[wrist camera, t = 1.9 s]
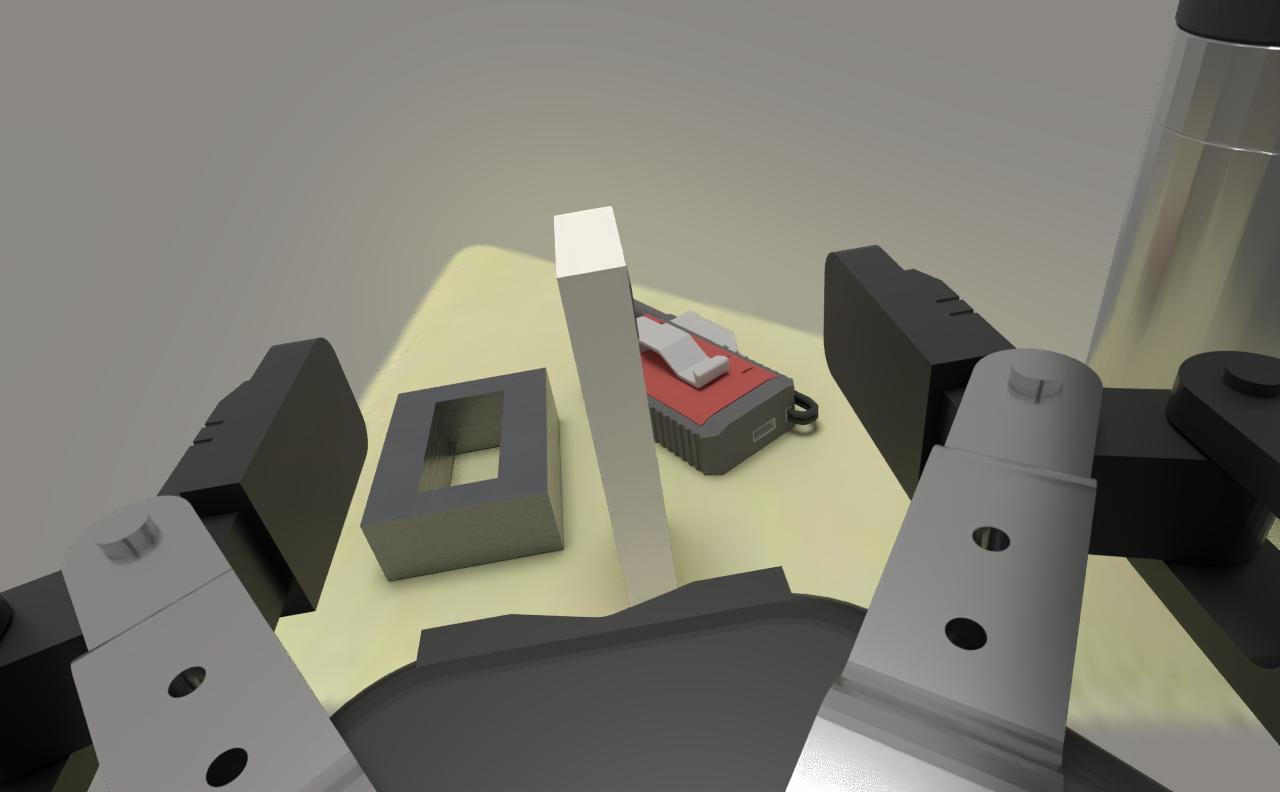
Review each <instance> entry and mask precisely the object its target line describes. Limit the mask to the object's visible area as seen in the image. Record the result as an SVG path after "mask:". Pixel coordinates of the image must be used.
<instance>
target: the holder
mask: <svg viewBox="0 0 1280 792" xmlns="http://www.w3.org/2000/svg"><path fill="white" fill-rule="evenodd" d="M497 446H500V456H499V470H498V478H496V479H490V480H485V481H479V482H474V483H468V484H463V485H457V486H452V487H450V482H451V476H452V469H453V463H454V456H455V454H458V453H464V452H469V451H475V450H480V449H486V448H491V447H497ZM360 527H361V529H362V531H363V533H364V535H365V537H366V539H367V541H368V543H369V545H370V547H371V549H372V550H373V552H374V554H375V556H376V558H377V560H378V562H379V564H380V566H381V568H382V570H383V572H384V574H385V576H386V578H387V580H388V581H392V580H397V579H403V578H408V577H414V576H419V575H425V574H430V573H436V572H441V571H446V570H452V569H457V568H463V567H468V566H474V565H479V564H485V563H490V562H496V561H501V560H507V559H512V558H517V557H523V556H528V555H534V554H539V553H545V552H550V551H556V550H561V549H564V541H563V515H562V488H561V462H560V435H559V418H558V414H557V410H556V406H555V402H554V398H553V394H552V390H551V386H550V382H549V378H548V374H547V370H546V368H541V369H535V370H530V371H524V372H518V373H513V374H507V375H502V376H496V377H490V378H485V379H479V380H474V381H468V382H462V383H457V384H451V385H446V386H440V387H434V388H429V389H423V390H418V391H412V392H406V393H401V394H398V397H397V401H396V404H395V408H394V411H393V414H392V418H391V421H390V425H389V428H388V432H387V435H386V439H385V442H384V445H383V449H382V452H381V456H380V459H379V463H378V466H377V470H376V473H375V476H374V480H373V483H372V487H371V490H370V494H369V497H368V501H367V504H366V508H365V511H364V514H363V518H362V521H361V525H360Z"/></svg>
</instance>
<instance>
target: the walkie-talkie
mask: <svg viewBox="0 0 1280 792" xmlns="http://www.w3.org/2000/svg"><path fill="white" fill-rule="evenodd" d="M633 301H634V307H635V313H636V317H637V326H638V332H639V338H640V339H638V343H639V349H640V356H641V362H642V368H643V374H644V381H645V387H646V393H647V399H648V405H649V412H650V418H651V424H652V430H653V437H654V440H655V442H656V443H658V442H659V443H660V444H661V446H662V447H666V448H668V451H670V452H671V451H672V452H674V453H675V455H676V456H680V457H681V458H682V460H683V461H687V462H689V465H690V466H692V465H693V466H695V467H696V470H698V471H699V470H701V471H702V472H704V475H724V474H725V473H727V472H728V471H730V470H731V469H732V468H734V467H735V466H737V465H738V464H740V463H741V462H743V461H744V460H746V459H747V458H748V457H750V456H751V455H753V454H754V453H756V452H757V451H759V450H760V449H762V448H763V447H765V446H766V445H767V444H769V443H770V442H772V441H773V440H775V439H776V438H778V437H779V436H781V435H782V434H783V433H785V432H786V431H788V430H789V429H791V428H792V427H794V426H795V424H800V425H806V424H810V423H812V422H814V421H816V419H817V418H818V404H817V403H816V402H815V401H813V400H812V399H811V398H810V397H808V396H805V395H803V394H801V393H799V392H797V391H795V390H794V384H793V379H791V378H788V377H786V376H785V375H782V374H779V373H778V372H777V371H773V370H771V369H770V368H768V367H765V366H763V365H762V364H758V363H756V362H755V361H753V360H750V359H748V357H747V355H744V354H742V353H740V352H738V348H737V344H736V341H735V337H734V333H733V331H731V330H729V329H727V328H724V327H722V326H720V325H718V324H715V323H713V322H711V321H709V320H707V319H704V318H702V317H700V316H699V314H697V313H695V312H693V311H691V310H690V311H688V312H686V313H684V314H682V315H680V316H679V317H676V316H674V315H672V314H665V313H663V312H661V311H658V310H656V309H654V308H652V307H650V306H648V305H646V304H643V303H641V302H639V301H637V300H635V299H633ZM795 404H796V405H798V406H800V407H802V408H804V409H806V410H807V411H803V412H802V411H796V410H795Z"/></svg>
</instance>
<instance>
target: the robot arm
mask: <svg viewBox="0 0 1280 792" xmlns="http://www.w3.org/2000/svg"><path fill="white" fill-rule="evenodd" d="M1175 20H1176V21H1175V23H1174V25H1173V29H1172V32H1171V36H1170V40H1169V43H1168V47H1167V51H1166V55H1165V59H1164V63H1163V67H1162V70H1161V74H1160V78H1159V82H1158V86H1157V90H1156V93H1155V97H1154V101H1153V105H1152V109H1151V113H1150V117H1149V121H1148V125H1147V129H1146V132H1145V136H1144V140H1143V144H1142V148H1141V151H1140V156H1139V159H1138V163H1137V167H1136V171H1135V175H1134V178H1133V182H1132V186H1131V190H1130V194H1129V198H1128V201H1127V205H1126V209H1125V213H1124V217H1123V221H1122V225H1121V228H1120V232H1119V236H1118V240H1117V244H1116V248H1115V251H1114V255H1113V259H1112V263H1111V267H1110V271H1109V275H1108V278H1107V282H1106V286H1105V290H1104V294H1103V298H1102V301H1101V305H1100V309H1099V313H1098V317H1097V321H1096V325H1095V328H1094V332H1093V336H1092V340H1091V344H1090V348H1089V352H1088V356H1087V359H1086V363H1085V364H1084V363H1082V362H1080V361H1078V360H1076V359H1074V358H1071V357H1069V356H1066V355H1063V354H1059V353H1056V352H1051V351H1045V350H1038V349H1016V348H1015V347H1014V346H1013V345H1012V344H1011V343H1009V341H1008V340H1006V339H1005V338H1004V337H1003V336H1002V335H1001V334H1000V333H999V332H998V331H996V330H995V329H994V328H993V327H992V326H991V325H990V324H989V323H988V322H987V321H986V320H985V319H983V318H982V317H981V316H980V315H979V314H978V313H974V312H973V309H972V308H971V307H970V306H969V305H968V304H967V303H966V302H965V301H963V300H959V296H958V295H957V294H956V293H955V292H954V291H953V290H952V289H950V288H949V287H948V286H947V285H946V284H945V283H944V282H943V281H942V280H939V279H936V278H934V277H932V276H929V275H927V274H925V273H922V272H920V271H917V270H915V269H911V270H905V271H904V270H903V269H902V268H901V267H900V266H899V265H898V264H897V263H896V262H895V261H894V260H893V259H892V258H891V257H890V256H889V255H888V254H887V253H886V252H885V251H884V250H883V249H882V248H881V247H879V246H878V245H873V246H867V247H861V248H855V249H849V250H843V251H837V252H831V253H829V254H828V256H827V259H826V263H825V287H824V350H825V356H826V360H827V364H828V367H829V370H830V373H831V375H832V376H833V378H834V380H835V381H836V383H837V384H838V386H839V388H840V389H841V391H842V392H843V394H844V396H845V397H846V399H847V400H848V402H849V403H850V405H851V407H852V408H853V410H854V411H855V413H856V415H857V416H858V418H859V419H860V421H861V423H862V424H863V426H864V427H865V429H866V430H867V432H868V434H869V435H870V437H871V438H872V440H873V442H874V443H875V445H876V446H877V448H878V449H879V451H880V453H881V454H882V456H883V457H884V459H885V461H886V462H887V464H888V465H889V467H890V468H891V470H892V472H893V473H894V475H895V476H896V478H897V480H898V481H899V483H900V484H901V486H902V487H903V489H904V491H905V492H906V494H907V495H908V497H909V499H910V500H911V503H910V506H909V508H908V511H907V513H906V516H905V518H904V521H903V523H902V526H901V528H900V531H899V533H898V536H897V538H896V541H895V543H894V546H893V549H892V551H891V554H890V556H889V559H888V561H887V564H886V566H885V569H884V571H883V574H882V576H881V579H880V581H879V584H878V586H877V589H876V591H875V594H874V596H873V599H872V601H871V604H870V606H869V609H866V608H863V607H860V606H858V605H855V604H852V603H849V602H845V601H841V600H837V599H833V598H829V597H823V596H816V595H809V594H797V593H791V590H790V588H789V585H788V582H787V580H786V577H785V574H784V571H783V569H782V566H779V567H773V568H768V569H762V570H756V571H751V572H745V573H740V574H734V575H728V576H723V577H717V578H711V579H706V580H700V581H695V582H692V583H689V584H687V585H684V586H682V587H679V588H677V589H674V590H672V591H669V592H667V593H665V594H662V595H660V596H657V597H655V598H652V599H650V600H647V601H645V602H642V603H640V604H637V605H635V606H632V607H630V608H627V609H625V610H623V611H620V612H618V613H615V614H612V615H609V616H605V617H570V616H545V615H520V614H509V615H503V616H498V617H492V618H486V619H481V620H475V621H469V622H464V623H458V624H452V625H447V626H441V627H436V628H430V629H424V630H422V631H421V637H420V643H419V649H418V655H417V661H415V662H412V663H410V664H408V665H405V666H403V667H401V668H399V669H397V670H395V671H394V672H392V673H390V674H388V675H386V676H384V677H382V678H381V679H379V680H378V681H376V682H375V683H373V684H371V685H370V686H368V687H367V688H365V689H364V690H362V691H361V692H360V693H358V694H357V695H356V696H355V697H353V698H352V699H351V700H349V701H348V702H347V703H345V704H344V705H343V706H342V707H341V708H340V709H339V710H337V711H336V712H335V713H334V714H333V715H332V716H331V717H329V716H328V714H327V713H326V711H325V709H324V708H323V706H322V705H321V703H320V702H319V700H318V699H317V697H316V696H315V694H314V693H313V691H312V690H311V688H310V686H309V685H308V683H307V682H306V680H305V679H304V677H303V676H302V674H301V673H300V671H299V670H298V668H297V666H296V665H295V663H294V662H293V660H292V659H291V657H290V656H289V654H288V653H287V651H286V650H285V648H284V646H283V645H282V643H281V642H280V640H279V639H278V637H277V636H276V634H275V633H274V631H275V628H276V626H277V623H278V620H279V618H280V617H285V616H291V615H296V614H302V613H308V612H313V611H316V608H317V605H318V602H319V599H320V595H321V592H322V589H323V586H324V583H325V580H326V577H327V574H328V571H329V568H330V565H331V562H332V559H333V556H334V553H335V550H336V547H337V544H338V541H339V538H340V535H341V532H342V528H343V525H344V522H345V519H346V516H347V513H348V510H349V507H350V504H351V501H352V498H353V495H354V492H355V489H356V486H357V483H358V480H359V477H360V474H361V471H362V468H363V465H364V461H365V458H366V455H367V450H368V438H367V430H366V426H365V422H364V419H363V416H362V414H361V411H360V409H359V407H358V404H357V402H356V400H355V398H354V395H353V393H352V390H351V388H350V386H349V383H348V381H347V379H346V377H345V374H344V372H343V370H342V367H341V365H340V363H339V360H338V358H337V356H336V353H335V351H334V349H333V347H332V346H331V344H330V343H329V342H328V341H327V340H326V339H324V338H315V339H310V340H304V341H298V342H292V343H286V344H280V345H274V346H272V347H271V348H270V349H269V351H268V352H267V354H266V356H265V357H264V359H263V360H262V362H261V364H260V365H259V367H258V368H257V370H256V371H255V373H254V375H253V376H252V378H251V379H250V381H245V382H244V383H242V384H241V385H240V386H239V387H238V388H236V389H235V390H234V391H233V392H231V393H230V394H229V395H228V396H226V397H225V398H224V399H223V400H221V401H220V402H219V404H218V405H217V406H216V408H215V409H214V411H213V412H212V414H211V415H210V417H209V418H208V420H207V421H206V423H205V425H206V427H205V428H202V429H201V431H200V432H199V434H198V435H197V436H196V438H195V440H194V441H193V443H194V446H190V447H189V448H188V450H187V451H186V453H185V455H184V456H183V457H182V459H181V461H180V462H179V463H178V465H177V467H176V468H175V470H174V471H173V472H172V474H171V475H170V477H169V478H168V480H167V482H166V483H165V484H164V486H163V487H162V489H161V490H160V492H159V493H158V495H157V496H156V497H152V498H147V499H143V500H140V501H137V502H134V503H132V504H129V505H126V506H125V507H122V508H120V509H118V510H116V511H114V512H112V513H111V514H108V515H107V516H105V517H103V518H102V519H100V520H99V521H97V522H95V523H94V524H93V525H91V526H90V527H89V528H87V529H86V530H85V531H84V532H83V533H82V534H81V535H79V536H78V537H77V539H76V540H75V541H74V542H73V543H72V544H71V545H70V547H69V548H68V549H67V551H66V553H65V555H64V557H63V559H62V564H61V569H62V570H60V571H58V572H55V573H52V574H50V575H47V576H44V577H42V578H39V579H36V580H33V581H31V582H28V583H25V584H23V585H20V586H17V587H15V588H12V589H9V590H7V591H4V592H1V593H0V792H87V791H88V789H89V787H90V784H91V782H92V780H93V778H94V775H95V774H96V772H97V769H98V767H99V765H100V768H101V771H102V775H103V778H104V782H105V785H106V788H107V792H1172V791H1171V790H1169V789H1168V788H1166V787H1164V786H1163V785H1161V784H1159V783H1158V782H1156V781H1155V780H1153V779H1151V778H1149V777H1148V776H1146V775H1145V774H1143V773H1142V772H1140V771H1138V770H1137V769H1135V768H1133V767H1132V766H1130V765H1128V764H1127V763H1125V762H1124V761H1122V760H1120V759H1119V758H1117V757H1115V756H1114V755H1112V754H1111V753H1109V752H1107V751H1106V750H1104V749H1102V748H1101V747H1099V746H1097V745H1096V744H1094V743H1093V742H1091V741H1089V740H1088V739H1086V738H1084V737H1083V736H1081V735H1080V734H1078V733H1076V732H1075V731H1073V730H1071V729H1070V728H1068V727H1067V726H1066V721H1067V713H1068V706H1069V698H1070V690H1071V682H1072V675H1073V667H1074V659H1075V652H1076V644H1077V636H1078V628H1079V621H1080V613H1081V605H1082V597H1083V590H1084V582H1085V574H1086V567H1087V559H1088V554H1091V555H1104V556H1117V557H1126V558H1127V559H1128V561H1129V562H1130V563H1131V565H1132V566H1133V567H1134V568H1135V569H1136V571H1137V572H1138V573H1139V574H1140V576H1141V577H1142V578H1143V579H1144V580H1145V582H1146V583H1147V584H1148V585H1149V587H1150V588H1151V589H1152V590H1153V591H1154V593H1155V594H1156V595H1157V596H1158V598H1159V599H1160V600H1161V601H1162V602H1163V604H1164V605H1165V606H1166V607H1167V609H1168V610H1169V611H1170V612H1171V613H1172V615H1173V616H1174V617H1175V618H1176V620H1177V621H1178V622H1179V623H1180V624H1181V626H1182V627H1183V628H1184V629H1185V631H1186V632H1187V633H1188V634H1189V635H1190V637H1191V638H1192V639H1193V640H1194V642H1195V643H1196V644H1197V645H1198V646H1199V648H1200V649H1201V650H1202V651H1203V653H1204V654H1205V655H1206V656H1207V657H1208V659H1209V660H1210V661H1211V662H1212V664H1213V665H1214V666H1215V667H1216V668H1217V670H1218V671H1219V672H1220V673H1221V675H1222V676H1223V677H1224V678H1225V679H1226V681H1227V682H1228V683H1229V684H1230V686H1231V687H1232V688H1233V689H1234V690H1235V692H1236V693H1237V694H1238V695H1239V697H1240V698H1241V699H1242V700H1243V701H1244V703H1245V704H1246V705H1247V706H1248V708H1249V709H1250V710H1251V711H1252V712H1253V714H1254V715H1255V716H1256V717H1257V718H1258V720H1259V721H1260V722H1261V723H1262V725H1263V726H1264V727H1265V728H1266V729H1267V731H1268V732H1269V733H1270V734H1271V736H1272V737H1273V738H1274V739H1275V740H1276V742H1277V743H1278V744H1279V745H1280V550H1279V549H1278V548H1277V547H1275V546H1274V545H1273V544H1272V543H1271V542H1270V541H1269V540H1268V539H1267V538H1266V537H1267V535H1268V533H1269V531H1270V529H1271V527H1272V525H1273V523H1274V521H1275V519H1276V517H1278V518H1279V519H1280V0H1180V1H1179V5H1178V9H1177V12H1176V17H1175Z"/></svg>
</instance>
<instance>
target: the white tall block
mask: <svg viewBox="0 0 1280 792" xmlns="http://www.w3.org/2000/svg"><path fill="white" fill-rule="evenodd" d="M554 227H555V228H554V229H555V251H556V272H557V281H558V286H559V290H560V295H561V299H562V304H563V308H564V313H565V317H566V322H567V326H568V331H569V335H570V340H571V344H572V349H573V353H574V357H575V362H576V366H577V371H578V375H579V380H580V384H581V389H582V393H583V398H584V402H585V407H586V411H587V416H588V420H589V425H590V429H591V434H592V438H593V443H594V447H595V452H596V456H597V460H598V465H599V469H600V474H601V478H602V483H603V487H604V492H605V496H606V501H607V505H608V510H609V514H610V519H611V523H612V528H613V532H614V537H615V541H616V546H617V550H618V555H619V559H620V563H621V568H622V572H623V577H624V581H625V586H626V590H627V595H628V599H629V604H630V607H632V606H635V605H637V604H640V603H642V602H645V601H647V600H650V599H652V598H655V597H657V596H660V595H662V594H665V593H667V592H669V591H672V590H674V589H677V588H678V586H677V580H676V573H675V567H674V561H673V555H672V548H671V542H670V536H669V530H668V524H667V517H666V511H665V505H664V499H663V492H662V486H661V480H660V474H659V468H658V461H657V455H656V449H655V443H654V437H653V430H652V424H651V418H650V412H649V405H648V399H647V393H646V387H645V381H644V374H643V368H642V362H641V356H640V349H639V343H638V339H640V338H639V332H638V326H637V319H636V313H635V307H634V301H633V294H632V288H631V282H630V278H629V274H628V270H627V266H626V262H625V258H624V254H623V251H622V247H621V243H620V239H619V234H618V230H617V227H616V222H615V218H614V214H613V210H612V206H608V207H602V208H596V209H591V210H585V211H580V212H574V213H568V214H563V215H557V216H554Z"/></svg>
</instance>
